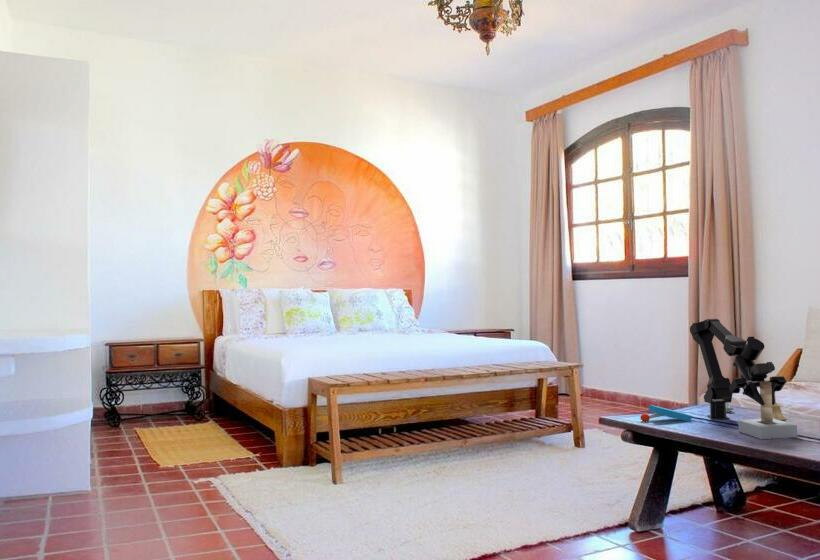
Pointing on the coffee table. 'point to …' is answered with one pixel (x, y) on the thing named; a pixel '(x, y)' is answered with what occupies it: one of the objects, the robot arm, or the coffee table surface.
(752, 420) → the socket block
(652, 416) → the lever
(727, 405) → the pacifier
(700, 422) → the coffee table surface
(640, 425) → the coffee table surface
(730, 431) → the coffee table surface
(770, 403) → the birch peg
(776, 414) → the hand bell
